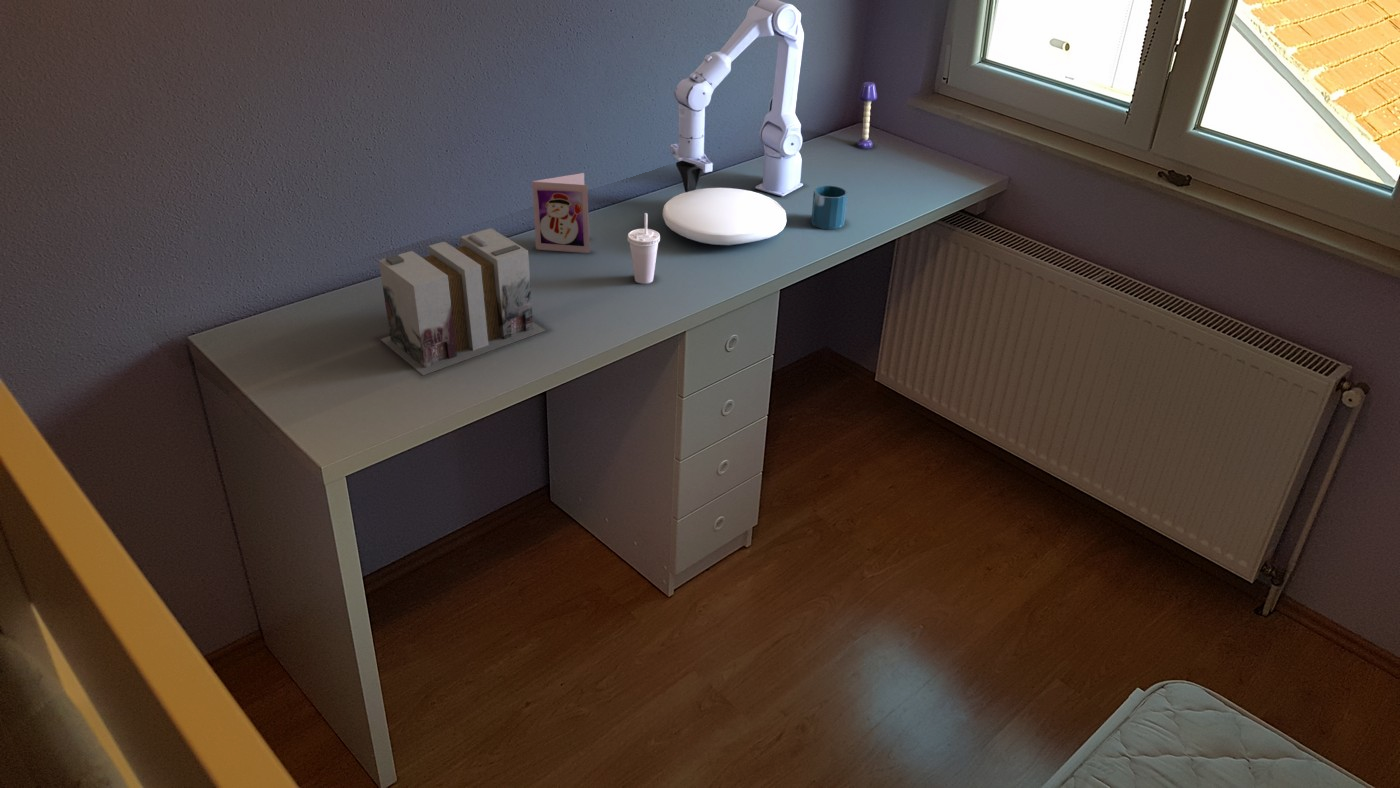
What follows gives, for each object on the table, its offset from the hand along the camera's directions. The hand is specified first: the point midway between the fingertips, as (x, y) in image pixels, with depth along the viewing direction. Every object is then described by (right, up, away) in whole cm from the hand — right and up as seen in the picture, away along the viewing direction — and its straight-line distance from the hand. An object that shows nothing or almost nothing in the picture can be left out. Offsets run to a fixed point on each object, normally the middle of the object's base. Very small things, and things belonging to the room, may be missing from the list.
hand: (690, 192), depth 244 cm
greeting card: (-26, -15, -17) cm, 35 cm away
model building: (-40, -35, -51) cm, 74 cm away
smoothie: (-9, -23, -30) cm, 39 cm away
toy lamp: (+46, +20, +39) cm, 63 cm away
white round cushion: (+8, -9, -8) cm, 14 cm away
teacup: (+31, -8, -4) cm, 32 cm away
